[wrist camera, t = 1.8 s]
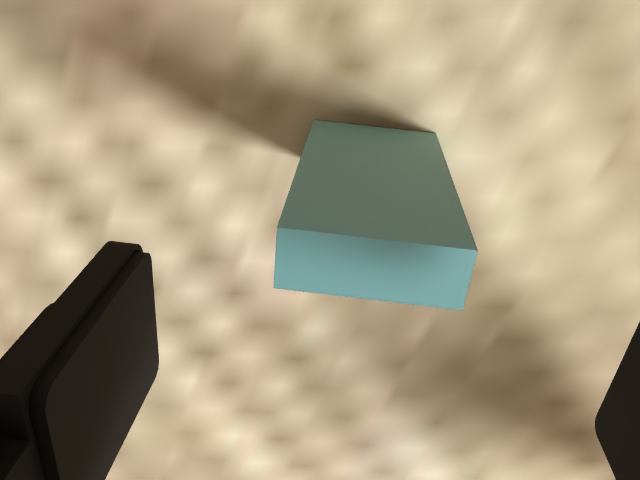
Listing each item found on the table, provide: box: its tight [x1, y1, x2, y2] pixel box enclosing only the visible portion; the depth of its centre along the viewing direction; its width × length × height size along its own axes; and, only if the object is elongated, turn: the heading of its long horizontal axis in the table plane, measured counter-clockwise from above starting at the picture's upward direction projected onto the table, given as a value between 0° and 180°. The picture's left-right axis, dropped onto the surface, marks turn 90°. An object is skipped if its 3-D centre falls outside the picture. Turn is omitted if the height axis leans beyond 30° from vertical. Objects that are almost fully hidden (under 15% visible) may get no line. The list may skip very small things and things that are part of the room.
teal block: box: [274, 120, 478, 310], centre depth 19 cm, size 2×5×10 cm, turn 85°
